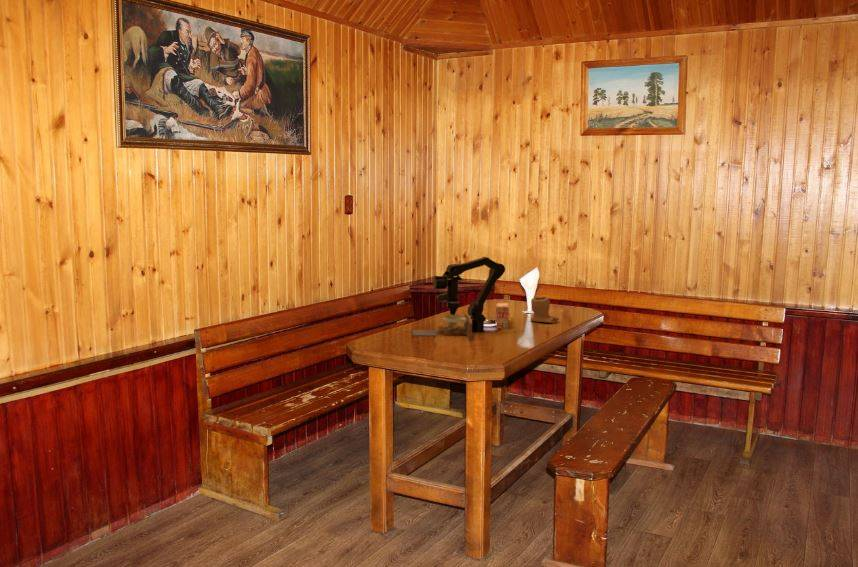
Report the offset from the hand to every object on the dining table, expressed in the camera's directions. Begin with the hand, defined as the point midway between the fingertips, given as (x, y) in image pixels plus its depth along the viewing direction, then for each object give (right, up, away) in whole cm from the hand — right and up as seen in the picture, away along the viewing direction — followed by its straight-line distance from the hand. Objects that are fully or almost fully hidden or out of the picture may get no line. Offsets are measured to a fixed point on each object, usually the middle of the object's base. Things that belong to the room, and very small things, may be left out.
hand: (452, 318), depth 387 cm
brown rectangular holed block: (+1, -9, -5) cm, 10 cm away
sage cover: (+1, -1, -5) cm, 5 cm away
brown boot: (+53, -4, +35) cm, 64 cm away
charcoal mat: (-14, -9, -5) cm, 17 cm away
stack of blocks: (+29, -5, +27) cm, 39 cm away
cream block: (0, -7, +1) cm, 8 cm away
